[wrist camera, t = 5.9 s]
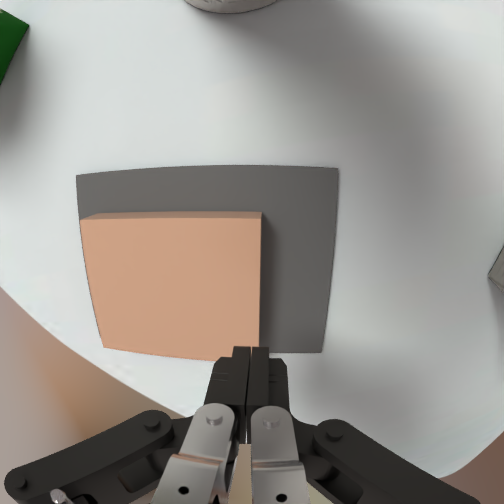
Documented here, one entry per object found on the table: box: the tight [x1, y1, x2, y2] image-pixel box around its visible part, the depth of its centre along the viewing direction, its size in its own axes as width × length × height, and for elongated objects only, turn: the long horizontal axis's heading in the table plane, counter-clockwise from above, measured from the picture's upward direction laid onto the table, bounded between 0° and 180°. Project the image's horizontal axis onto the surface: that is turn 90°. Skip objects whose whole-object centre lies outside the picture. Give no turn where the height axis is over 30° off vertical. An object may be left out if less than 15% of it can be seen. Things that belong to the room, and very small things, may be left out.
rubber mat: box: [76, 165, 338, 353], centre depth 21 cm, size 14×19×1 cm
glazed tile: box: [80, 211, 262, 361], centre depth 20 cm, size 10×3×12 cm
